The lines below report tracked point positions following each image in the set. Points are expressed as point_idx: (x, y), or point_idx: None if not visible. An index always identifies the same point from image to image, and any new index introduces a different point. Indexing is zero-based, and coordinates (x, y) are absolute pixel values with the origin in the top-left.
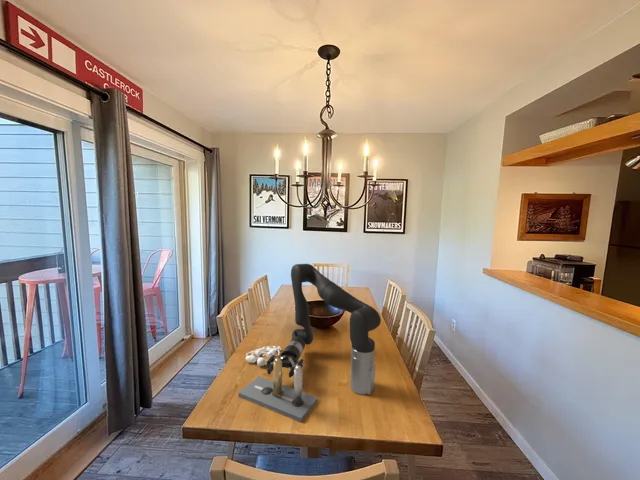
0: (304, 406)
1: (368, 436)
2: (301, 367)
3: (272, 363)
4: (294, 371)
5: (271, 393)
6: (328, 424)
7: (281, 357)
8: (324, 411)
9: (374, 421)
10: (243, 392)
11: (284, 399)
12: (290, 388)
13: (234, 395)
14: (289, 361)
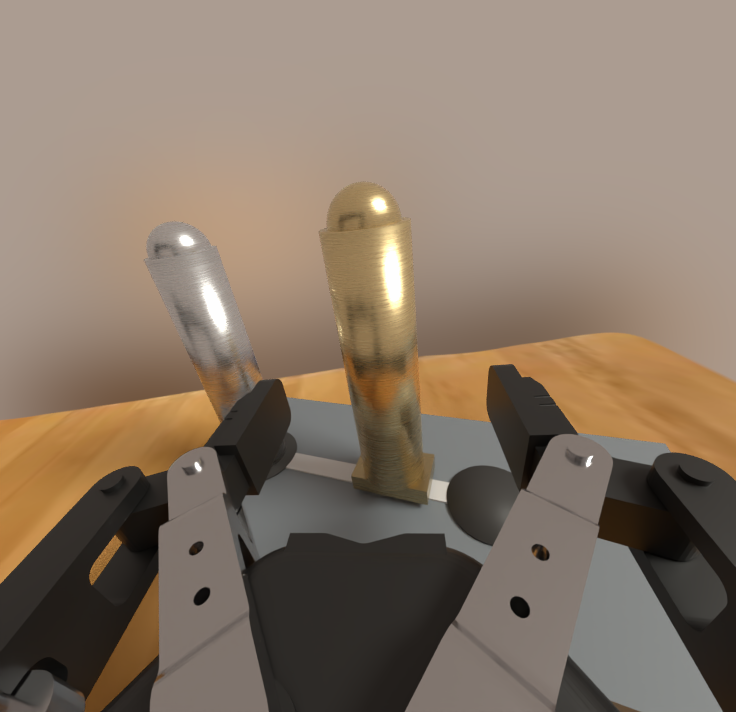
0: None
1: (56, 414)
2: (147, 243)
3: (557, 444)
4: (218, 254)
5: (434, 462)
6: (162, 421)
7: (520, 684)
8: None
9: None
10: (635, 452)
11: (341, 459)
12: None
13: None
14: (257, 612)
